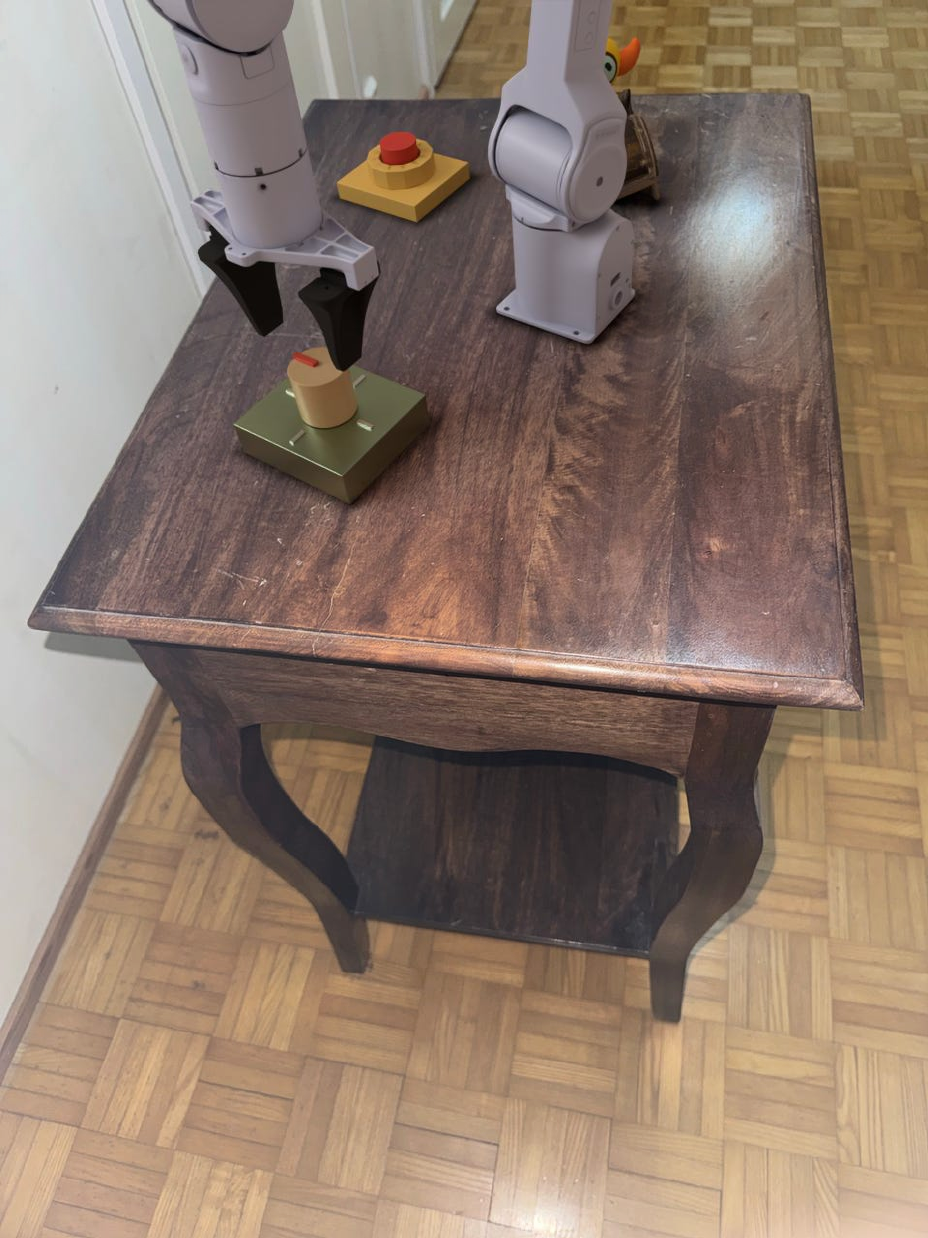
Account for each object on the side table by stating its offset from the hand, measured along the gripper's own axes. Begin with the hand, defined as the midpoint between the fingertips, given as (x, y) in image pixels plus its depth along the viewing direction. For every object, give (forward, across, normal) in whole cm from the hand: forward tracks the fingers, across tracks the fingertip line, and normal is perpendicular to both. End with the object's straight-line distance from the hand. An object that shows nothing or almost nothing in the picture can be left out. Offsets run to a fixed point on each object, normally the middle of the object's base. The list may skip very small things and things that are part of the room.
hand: (309, 345), depth 64 cm
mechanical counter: (+8, 0, +39) cm, 40 cm away
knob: (+6, 0, 0) cm, 6 cm away
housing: (+8, -18, +32) cm, 37 cm away
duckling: (+8, -6, +47) cm, 48 cm away
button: (+5, -18, +32) cm, 37 cm away
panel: (+9, 0, 0) cm, 9 cm away
